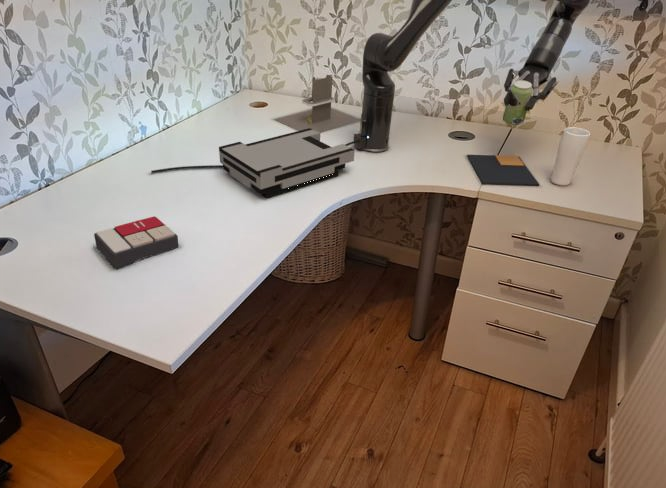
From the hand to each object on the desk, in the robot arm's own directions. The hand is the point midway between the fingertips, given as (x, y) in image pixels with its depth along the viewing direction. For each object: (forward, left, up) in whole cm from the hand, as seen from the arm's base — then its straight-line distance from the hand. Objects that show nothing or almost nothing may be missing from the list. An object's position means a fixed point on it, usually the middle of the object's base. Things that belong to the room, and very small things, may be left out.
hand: (516, 106), depth 151 cm
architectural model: (-56, +35, -18) cm, 68 cm away
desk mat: (-1, -4, -18) cm, 18 cm away
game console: (-65, -11, -18) cm, 68 cm away
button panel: (-96, -53, -18) cm, 111 cm away
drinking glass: (+14, -11, -18) cm, 25 cm away
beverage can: (+1, +2, -6) cm, 6 cm away
